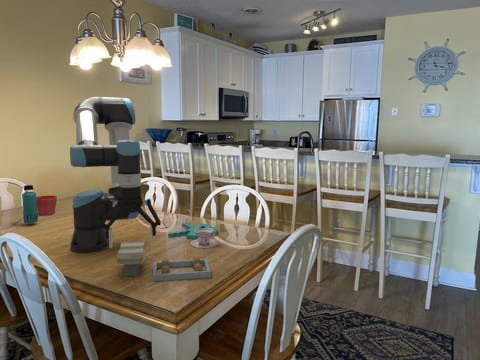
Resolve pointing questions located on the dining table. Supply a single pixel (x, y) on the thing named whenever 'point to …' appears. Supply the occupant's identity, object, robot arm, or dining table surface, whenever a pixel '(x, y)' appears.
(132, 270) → the block
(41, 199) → the flower pot
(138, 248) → the grey flat block
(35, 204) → the beverage bottle
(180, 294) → the dining table surface
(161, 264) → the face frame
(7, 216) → the dining table surface
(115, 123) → the robot arm
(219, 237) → the dining table surface
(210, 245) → the teacup
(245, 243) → the dining table surface
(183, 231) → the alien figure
